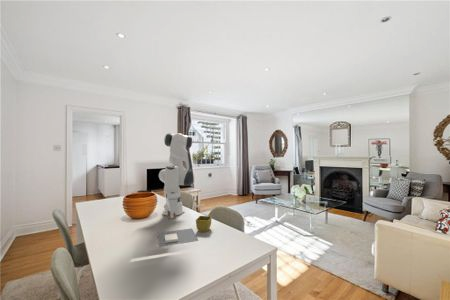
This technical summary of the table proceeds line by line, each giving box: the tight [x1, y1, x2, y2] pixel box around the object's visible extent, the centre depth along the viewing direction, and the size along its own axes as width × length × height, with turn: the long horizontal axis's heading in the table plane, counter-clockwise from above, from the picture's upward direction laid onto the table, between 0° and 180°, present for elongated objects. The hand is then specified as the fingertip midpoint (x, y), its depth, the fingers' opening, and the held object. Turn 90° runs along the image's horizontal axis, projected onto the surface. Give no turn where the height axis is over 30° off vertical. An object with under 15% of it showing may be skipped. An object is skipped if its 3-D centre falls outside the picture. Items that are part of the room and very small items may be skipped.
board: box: [157, 227, 199, 247], centre depth 121 cm, size 20×22×1 cm
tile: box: [165, 233, 178, 243], centre depth 117 cm, size 2×7×8 cm
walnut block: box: [167, 211, 176, 220], centre depth 118 cm, size 4×4×4 cm
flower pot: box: [195, 215, 213, 233], centre depth 132 cm, size 9×9×9 cm
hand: (171, 216), depth 118 cm, fingers closed on walnut block, 4 cm apart
